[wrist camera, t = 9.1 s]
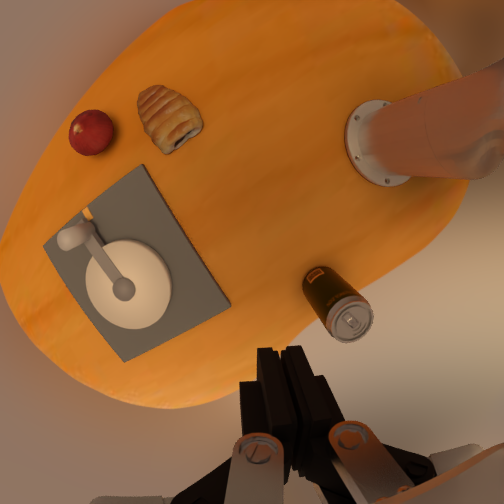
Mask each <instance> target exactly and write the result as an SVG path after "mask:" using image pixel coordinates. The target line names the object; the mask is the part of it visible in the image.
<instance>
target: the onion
mask: <svg viewBox="0 0 504 504" xmlns="http://www.w3.org/2000/svg"><path fill="white" fill-rule="evenodd" d="M113 129H114V128H113V124H112V121H111V119H110V118H109V117H108V115H107V114H106V113H104V112H102V111H100V110H87V111H84V112H83V113H81V114H79V115H78V116H77V117H76V118H75V119H74V120H73V122H72V123H71V127H70V130H69V141H70V144H71V146H72V147H73V148H74V150H75V151H76V152H78V153H80V154H82V155H85V156H89V155H96V154H98V153H100V152H102V151H103V150H104V149H105V148H106V147H107V146H108V144H109V142H110V140H111V138H112V135H113Z"/></svg>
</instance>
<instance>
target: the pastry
mask: <svg viewBox="0 0 504 504" xmlns="http://www.w3.org/2000/svg"><path fill="white" fill-rule="evenodd" d="M137 106H138V114H139V115H140V119H141V121H142V123H143V125H144V131H145V132H146V133H147V134H148V135H149V136H150V137H151V138H152V141H153V143H154V144H155V145H157V146H158V147H159V148H160V149H161V151H162V153H164V154H169V153H171V152H172V151H173V150H174V149H178V148H179V147H180V146H182V144H183V143H185V142H186V141H187V139H188V138H191V137H194V136H195V135H196V134H198V133H199V132H200V130H201V129H202V125H203V121H202V119H201V117H200V114H199V111H198V109H197V108H196V107H195V106H193V105H192V103H191V102H189V100H188V99H187V98H186V97H184V96H182V95H181V94H180V93H177V92H175V91H174V90H171V89H168V88H166V87H165V86H163V85H155V86H151V87H149V88H147V89H146V90H144V91H142V92H141V93H140V94H139V97H138V101H137Z"/></svg>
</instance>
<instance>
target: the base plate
mask: <svg viewBox="0 0 504 504" xmlns="http://www.w3.org/2000/svg"><path fill="white" fill-rule="evenodd" d="M83 218H87V220H88V221H89V222H91V223H92V224H93V225H94V227H95V232H96V233H97V235H98V236H99V238H100V239H101V240H102V242H103V243H104V245H107V244H109V243H111V242H113V241H116V240H120V239H132V240H137V241H140V242H142V243H145V244H146V245H148V246H150V247H151V248H152V249H154V250H155V251H156V252H157V253H158V254H159V255H160V256H161V257H162V259H163V260H164V262H165V263H166V265H167V267H168V269H169V272H170V275H171V279H172V294H171V298H170V301H169V304H168V306H167V308H166V310H165V312H164V314H163V315H162V317H161V318H160V319H159V320H158V321H156V322H155V323H154V324H152V325H150V326H148V327H145V328H141V329H127V328H122V327H119V326H117V325H115V324H113V323H111V322H109V321H108V320H106V319H105V318H104V317H103V316H102V315H101V314H100V313H99V312H98V311H97V310H96V308H95V307H94V306H93V304H92V302H91V300H90V298H89V295H88V292H87V288H86V270H87V266H88V264H89V262H90V259H91V258H92V254H91V253H90V251H89V250H88V249H87V247H86V246H85V244H84V243H82V244H80V245H78V246H76V247H74V248H72V249H70V250H68V251H64V250H62V249H61V248H60V247H59V245H58V243H57V236H58V233H59V232H60V231H61V230H64V229H67V228H70V227H72V226H75V225H76V224H77V223H78V222H79V221H80V220H81V219H83ZM43 248H44V249H45V251H46V253H47V255H48V256H49V258H50V260H51V262H52V263H53V265H54V267H55V268H56V270H57V272H58V273H59V275H60V277H61V278H62V280H63V281H64V283H65V284H66V286H67V287H68V289H69V291H70V292H71V294H72V295H73V297H74V298H75V299H76V301H77V302H78V304H79V305H80V307H81V308H82V310H83V311H84V312H85V314H86V315H87V316H88V318H89V319H90V321H91V322H92V323H93V325H94V326H95V327H96V329H97V330H98V331H99V332H100V334H101V335H102V336H103V337H104V339H105V340H106V341H107V342H108V344H109V345H110V346H111V347H112V349H113V350H114V351H115V352H116V353H117V355H118V356H119V357H120V358H121V359H122V360H123V362H124V363H125V362H127V361H129V360H131V359H133V358H135V357H137V356H139V355H141V354H143V353H145V352H147V351H149V350H151V349H153V348H155V347H157V346H158V345H160V344H162V343H164V342H166V341H168V340H170V339H172V338H174V337H176V336H178V335H180V334H182V333H184V332H185V331H187V330H189V329H191V328H193V327H195V326H197V325H199V324H201V323H202V322H204V321H206V320H208V319H210V318H212V317H214V316H215V315H217V314H219V313H221V312H223V311H225V310H226V309H228V308H230V307H231V303H230V302H229V300H228V299H227V297H226V296H225V294H224V293H223V291H222V290H221V288H220V287H219V285H218V284H217V282H216V281H215V279H214V278H213V276H212V275H211V273H210V271H209V270H208V268H207V267H206V265H205V264H204V262H203V261H202V259H201V258H200V256H199V255H198V253H197V251H196V250H195V248H194V247H193V245H192V244H191V242H190V240H189V239H188V237H187V236H186V234H185V232H184V231H183V229H182V228H181V226H180V224H179V223H178V221H177V220H176V218H175V216H174V215H173V213H172V211H171V210H170V208H169V207H168V205H167V203H166V202H165V200H164V198H163V197H162V195H161V193H160V192H159V190H158V188H157V187H156V185H155V183H154V182H153V180H152V178H151V176H150V175H149V173H148V171H147V170H146V168H145V166H144V165H143V164H141V165H140V166H138V167H137V168H135V169H134V170H133V171H131V172H130V173H128V174H127V175H126V176H124V177H123V178H122V179H120V180H119V181H118V182H116V183H115V184H114V185H112V186H111V187H110V188H109V189H107V190H106V191H105V192H103V193H102V194H101V195H100V196H98V197H97V198H96V199H95V200H93V201H92V202H91V203H90V204H89V205H87V206H86V207H85V208H84V209H83V210H82V211H80V212H79V213H78V214H77V215H76V216H75V217H73V218H72V219H71V220H70V221H69V222H68V223H67V224H66V225H64V226H63V227H62V228H61V229H60V230H59V231H58V232H57V233H56V234H55V235H54V236H53V237H52V238H51V239H49V240H48V241H47V242H46V243H45V244H44V245H43Z"/></svg>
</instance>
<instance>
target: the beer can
mask: <svg viewBox="0 0 504 504" xmlns="http://www.w3.org/2000/svg"><path fill="white" fill-rule="evenodd" d="M303 292H304V295H305V297H306V298H307V300H308V301H309V303H310V304H311V306H312V308H313V309H314V311H315V312H316V314H317V315H318V317H319V318H320V320H321V322H322V323H323V325H324V326H325V328H326V329H327V331H328V332H329V333H330V335H331V336H332V337H334V338H335V339H336V340H338V341H340V342H343V343H351V342H355V341H357V340H359V339H361V338H362V337H363V336H364V335H365V334H366V333H367V332H368V331H369V330H370V328H371V326H372V323H373V318H374V316H373V311H372V309H371V307H370V304H369V303H368V301H367V300H366V299H365V298H364V297H363V296H361V295H360V294H359V293H358V292H357V291H356V290H355V289H354V288H353V287H352V286H351V285H349V284H348V283H347V282H346V281H345V280H344V279H343V278H342V277H341V276H339V275H338V274H337V273H336V272H335V271H334V270H332V269H331V268H328V267H318V268H316V269H313V270H312V271H310V272H309V273H308V274H307V276H306V277H305V279H304V282H303Z"/></svg>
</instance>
